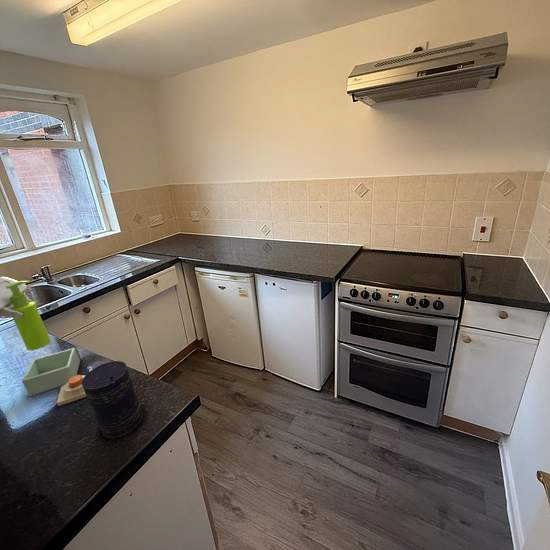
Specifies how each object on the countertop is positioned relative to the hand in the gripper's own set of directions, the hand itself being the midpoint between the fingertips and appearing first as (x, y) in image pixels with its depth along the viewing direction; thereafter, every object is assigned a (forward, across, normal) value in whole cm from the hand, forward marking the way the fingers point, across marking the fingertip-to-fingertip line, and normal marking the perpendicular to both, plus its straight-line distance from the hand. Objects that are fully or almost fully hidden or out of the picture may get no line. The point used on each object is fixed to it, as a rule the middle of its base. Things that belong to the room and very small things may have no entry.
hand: (28, 310), depth 87 cm
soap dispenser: (+8, 0, -9) cm, 12 cm away
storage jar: (+34, +28, 0) cm, 44 cm away
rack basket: (+17, 0, -18) cm, 24 cm away
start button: (+22, +10, -9) cm, 26 cm away
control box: (+24, +10, -11) cm, 28 cm away
